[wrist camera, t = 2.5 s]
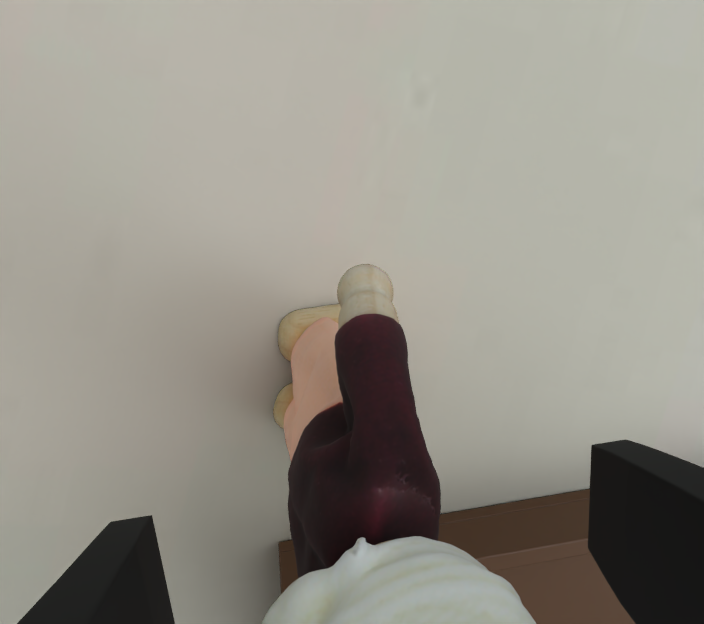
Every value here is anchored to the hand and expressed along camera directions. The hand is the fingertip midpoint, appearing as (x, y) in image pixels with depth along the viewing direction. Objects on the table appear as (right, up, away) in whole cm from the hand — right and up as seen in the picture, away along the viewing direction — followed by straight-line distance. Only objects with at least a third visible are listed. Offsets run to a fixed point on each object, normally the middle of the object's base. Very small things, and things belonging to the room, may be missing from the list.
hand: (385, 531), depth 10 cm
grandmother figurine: (-1, +2, +8) cm, 8 cm away
